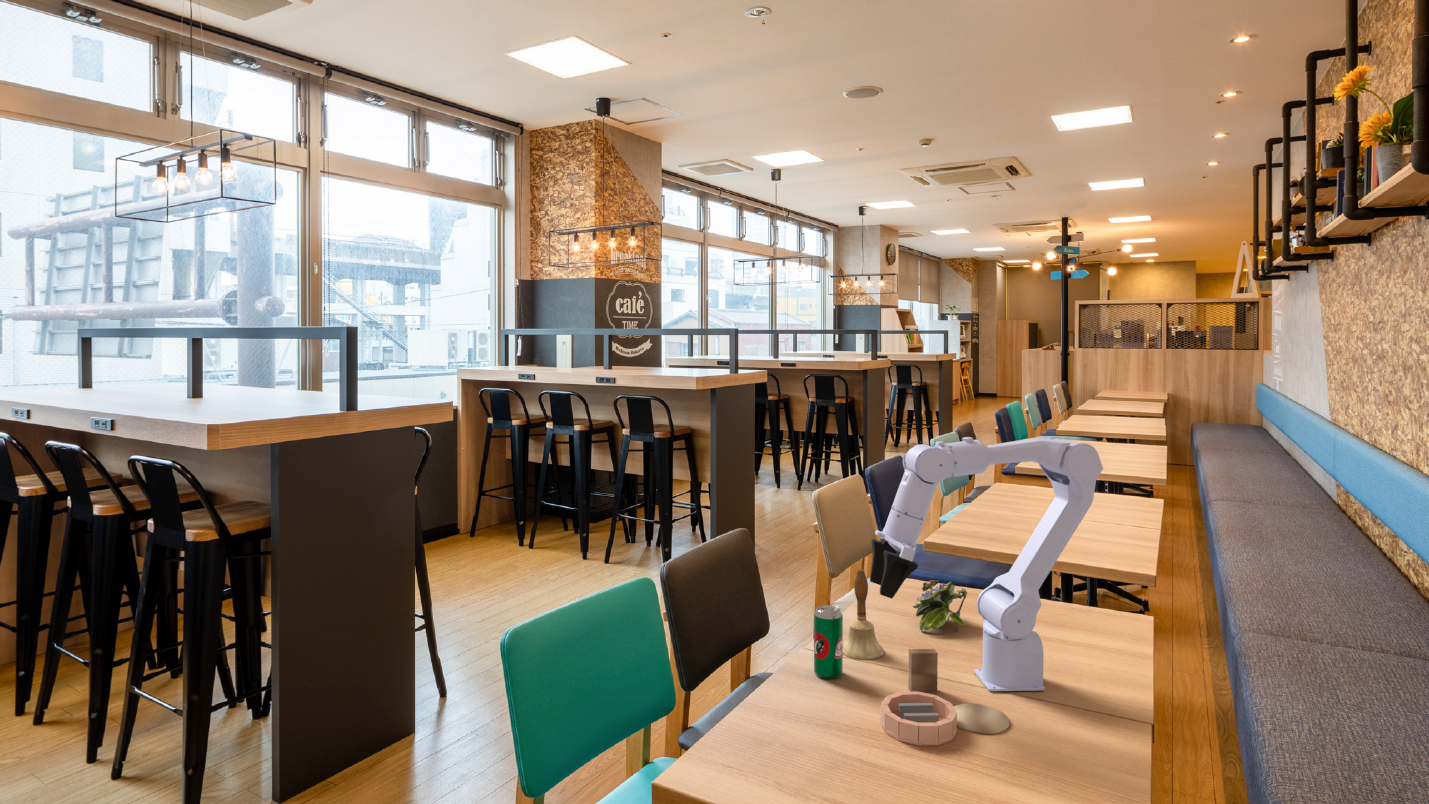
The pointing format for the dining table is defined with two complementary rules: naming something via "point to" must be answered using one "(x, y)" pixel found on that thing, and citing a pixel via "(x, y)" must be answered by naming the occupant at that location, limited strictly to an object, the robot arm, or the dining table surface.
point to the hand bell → (861, 627)
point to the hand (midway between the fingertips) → (880, 589)
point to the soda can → (828, 642)
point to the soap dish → (918, 718)
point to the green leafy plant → (938, 605)
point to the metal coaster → (981, 718)
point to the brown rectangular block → (923, 670)
